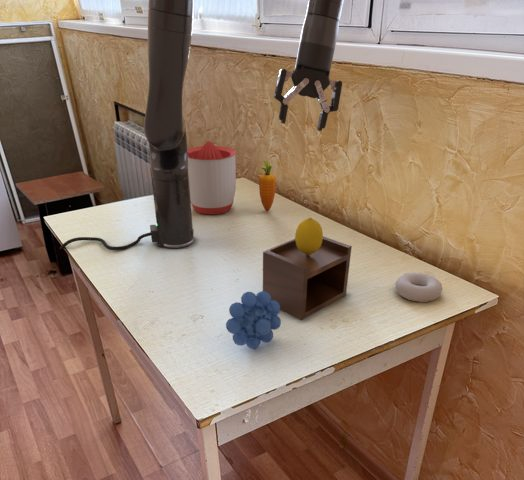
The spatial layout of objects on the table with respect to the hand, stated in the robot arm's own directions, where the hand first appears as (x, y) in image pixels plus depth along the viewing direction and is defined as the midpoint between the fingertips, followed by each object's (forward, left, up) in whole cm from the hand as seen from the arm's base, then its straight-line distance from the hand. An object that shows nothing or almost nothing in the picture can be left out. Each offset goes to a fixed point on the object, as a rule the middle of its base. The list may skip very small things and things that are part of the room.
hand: (301, 126), depth 111 cm
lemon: (-5, -25, -20) cm, 32 cm away
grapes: (-19, -42, -30) cm, 55 cm away
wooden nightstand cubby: (-5, -25, -30) cm, 39 cm away
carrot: (-1, +30, -30) cm, 43 cm away
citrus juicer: (-18, +36, -30) cm, 50 cm away
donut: (+20, -28, -30) cm, 46 cm away
